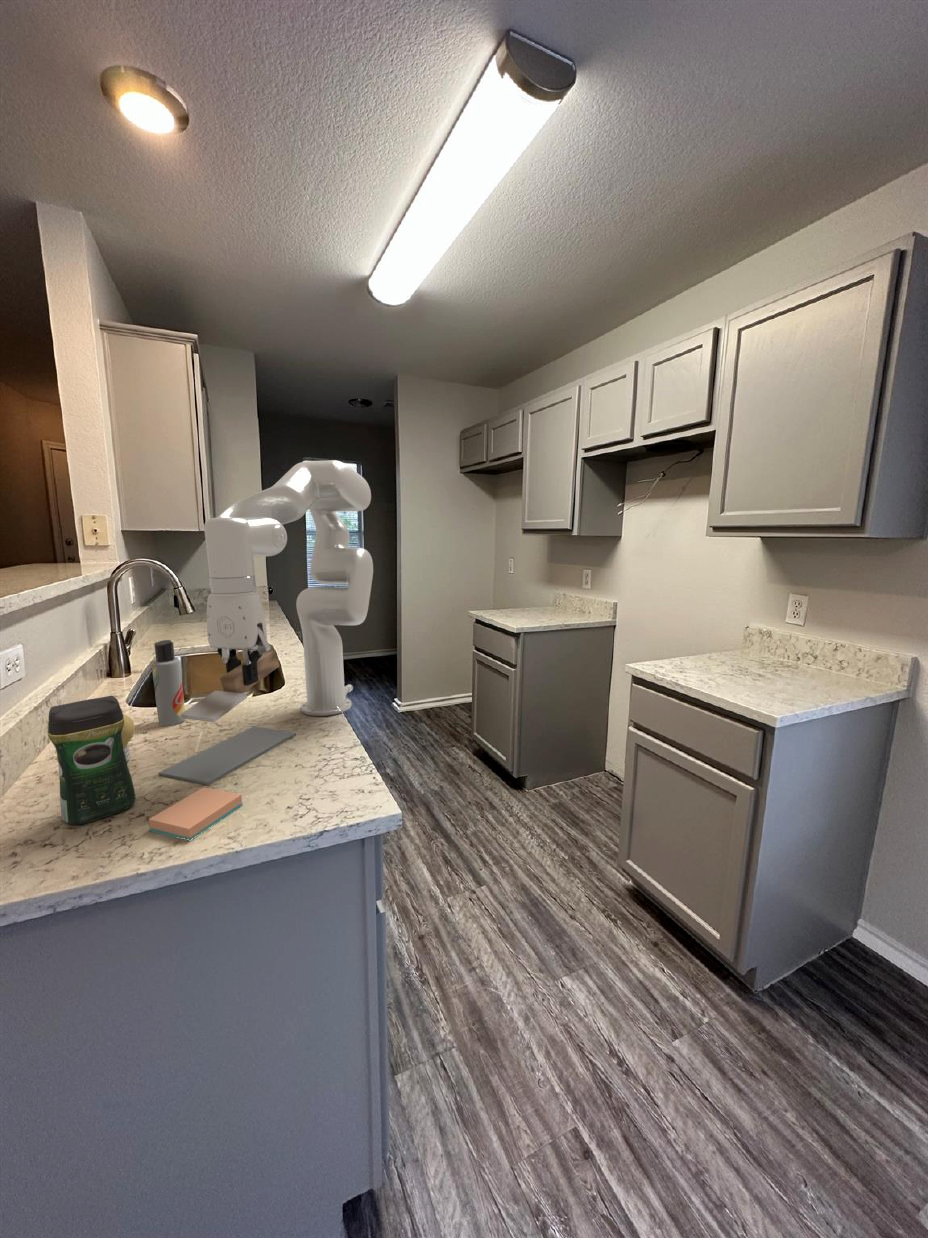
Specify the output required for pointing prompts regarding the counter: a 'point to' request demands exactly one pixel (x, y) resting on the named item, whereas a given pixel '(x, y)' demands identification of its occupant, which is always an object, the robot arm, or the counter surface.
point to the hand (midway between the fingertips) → (243, 681)
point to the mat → (227, 755)
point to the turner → (230, 691)
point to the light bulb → (127, 735)
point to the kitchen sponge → (195, 813)
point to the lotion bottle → (168, 684)
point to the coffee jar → (91, 759)
